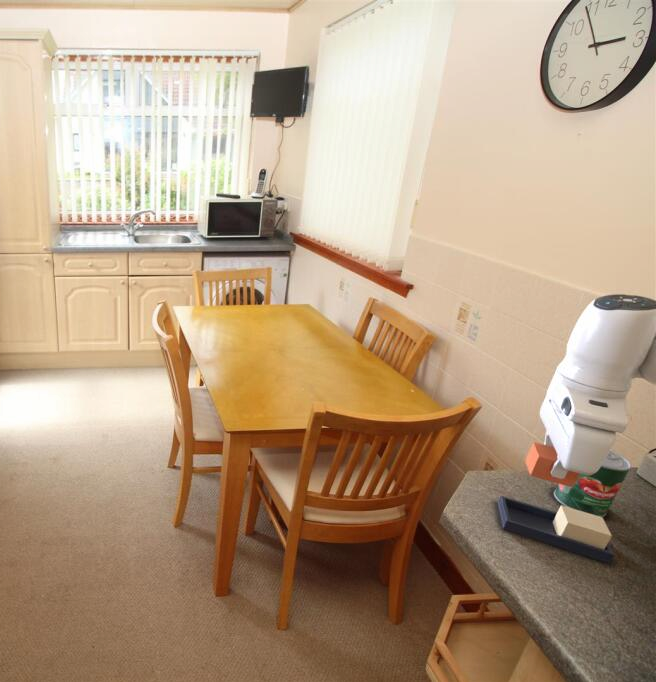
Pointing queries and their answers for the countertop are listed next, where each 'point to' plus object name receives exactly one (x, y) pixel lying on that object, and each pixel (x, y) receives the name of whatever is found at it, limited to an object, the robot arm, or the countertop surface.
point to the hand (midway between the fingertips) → (551, 465)
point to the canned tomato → (595, 487)
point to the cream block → (582, 527)
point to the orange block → (547, 465)
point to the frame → (544, 528)
